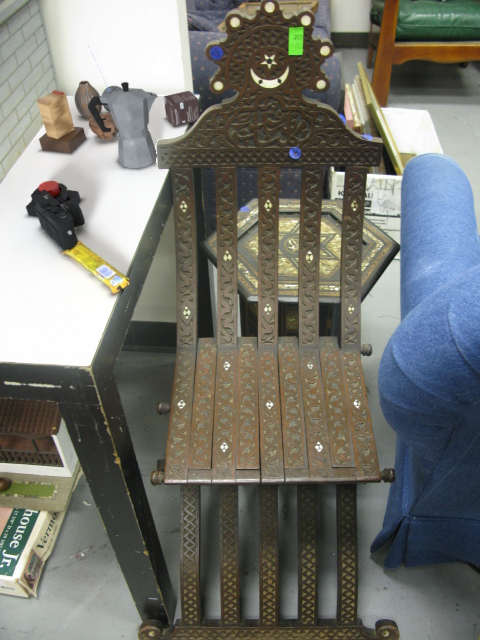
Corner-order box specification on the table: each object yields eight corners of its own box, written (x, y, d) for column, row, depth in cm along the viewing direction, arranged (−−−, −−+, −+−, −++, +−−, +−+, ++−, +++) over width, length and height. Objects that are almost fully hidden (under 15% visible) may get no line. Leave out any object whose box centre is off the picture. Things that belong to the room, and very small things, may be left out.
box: (200, 121, 146) (174, 127, 144) (191, 112, 150) (166, 118, 147) (198, 98, 141) (172, 105, 139) (189, 89, 145) (163, 95, 143)
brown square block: (42, 150, 137) (38, 138, 135) (58, 135, 143) (55, 124, 140) (70, 153, 135) (67, 142, 133) (86, 138, 141) (83, 127, 139)
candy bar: (112, 290, 95) (115, 297, 97) (131, 276, 97) (133, 284, 99) (58, 247, 104) (61, 254, 105) (76, 235, 105) (79, 243, 107)
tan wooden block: (57, 139, 134) (46, 101, 128) (47, 136, 136) (36, 98, 129) (75, 129, 138) (65, 92, 131) (64, 126, 139) (54, 89, 133)
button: (36, 196, 115) (34, 189, 113) (47, 187, 117) (44, 179, 116) (54, 199, 114) (51, 191, 113) (63, 189, 116) (61, 181, 115)
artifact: (104, 128, 144) (100, 109, 141) (128, 133, 141) (124, 114, 138) (85, 141, 139) (81, 121, 136) (109, 146, 137) (105, 127, 133)
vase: (82, 123, 147) (74, 89, 141) (75, 113, 151) (67, 80, 145) (107, 116, 149) (100, 83, 143) (99, 107, 154) (92, 75, 147)
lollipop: (129, 59, 133) (110, 78, 131) (134, 106, 152) (117, 123, 151) (99, 35, 133) (79, 53, 131) (107, 85, 153) (90, 101, 151)
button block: (28, 215, 116) (22, 199, 113) (48, 195, 122) (43, 179, 119) (62, 220, 114) (57, 203, 112) (80, 200, 120) (76, 183, 117)
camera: (101, 243, 108) (92, 208, 102) (67, 258, 105) (56, 223, 99) (68, 212, 116) (58, 178, 111) (36, 226, 113) (24, 191, 107)
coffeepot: (164, 146, 136) (154, 71, 123) (167, 165, 129) (156, 87, 117) (101, 153, 135) (84, 78, 122) (100, 173, 128) (82, 95, 115)
